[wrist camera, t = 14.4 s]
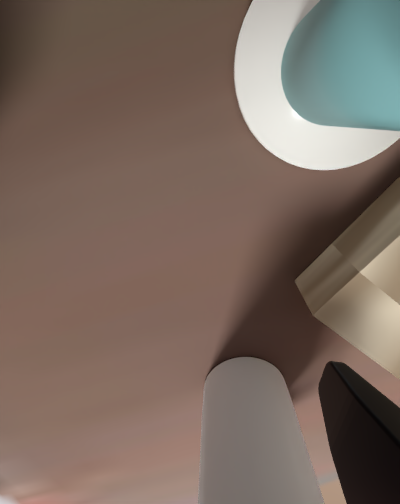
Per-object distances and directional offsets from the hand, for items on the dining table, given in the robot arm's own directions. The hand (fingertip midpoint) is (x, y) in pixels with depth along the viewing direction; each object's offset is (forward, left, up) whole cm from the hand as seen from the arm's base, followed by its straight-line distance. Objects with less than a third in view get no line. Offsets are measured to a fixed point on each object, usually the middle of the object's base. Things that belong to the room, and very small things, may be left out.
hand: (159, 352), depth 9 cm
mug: (+13, -9, -12) cm, 20 cm away
